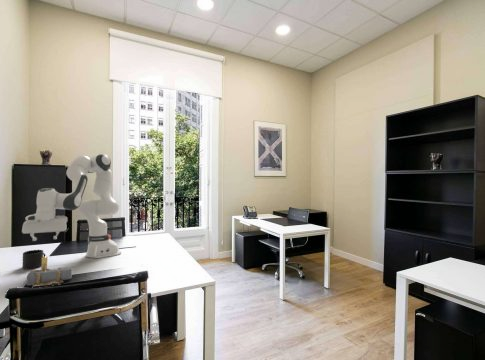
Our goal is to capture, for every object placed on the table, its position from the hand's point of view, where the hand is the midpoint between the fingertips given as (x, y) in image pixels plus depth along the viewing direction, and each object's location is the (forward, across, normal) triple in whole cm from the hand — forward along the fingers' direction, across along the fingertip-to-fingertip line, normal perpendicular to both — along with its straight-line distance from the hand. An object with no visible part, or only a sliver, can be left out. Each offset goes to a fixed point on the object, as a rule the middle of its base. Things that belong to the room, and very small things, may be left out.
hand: (44, 239), depth 144 cm
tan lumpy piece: (+18, 0, +13) cm, 22 cm away
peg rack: (+18, -5, +22) cm, 29 cm away
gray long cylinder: (+17, -6, +22) cm, 28 cm away
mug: (+18, +6, -12) cm, 23 cm away
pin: (+18, 0, 0) cm, 18 cm away
